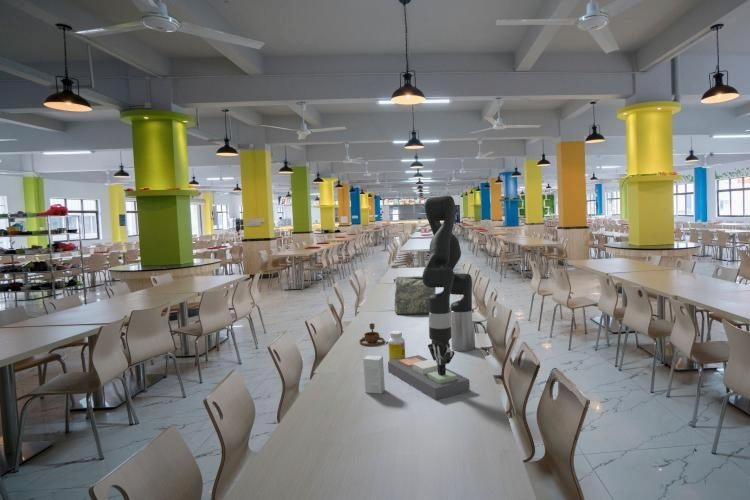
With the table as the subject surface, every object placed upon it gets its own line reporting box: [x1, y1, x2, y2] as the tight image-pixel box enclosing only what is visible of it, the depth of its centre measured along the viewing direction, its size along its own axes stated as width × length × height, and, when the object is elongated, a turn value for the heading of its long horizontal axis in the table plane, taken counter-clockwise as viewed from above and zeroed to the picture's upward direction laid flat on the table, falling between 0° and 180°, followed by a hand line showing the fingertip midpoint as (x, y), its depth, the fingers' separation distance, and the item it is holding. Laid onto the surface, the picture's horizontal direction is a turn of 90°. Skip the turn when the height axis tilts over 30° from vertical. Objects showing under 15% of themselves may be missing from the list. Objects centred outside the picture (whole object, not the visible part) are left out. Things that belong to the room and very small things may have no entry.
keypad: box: [387, 354, 471, 401], centre depth 170 cm, size 14×32×4 cm, turn 27°
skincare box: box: [362, 355, 386, 394], centre depth 162 cm, size 6×4×12 cm
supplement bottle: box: [387, 330, 406, 362], centre depth 190 cm, size 7×7×13 cm
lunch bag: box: [393, 275, 437, 316], centre depth 281 cm, size 26×18×22 cm
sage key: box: [428, 370, 456, 384], centre depth 161 cm, size 7×7×3 cm
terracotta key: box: [399, 356, 422, 367], centre depth 179 cm, size 7×7×3 cm
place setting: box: [359, 322, 388, 347], centre depth 225 cm, size 18×20×6 cm
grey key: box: [412, 359, 438, 375], centre depth 170 cm, size 7×7×3 cm
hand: (441, 374), depth 161 cm, fingers closed
